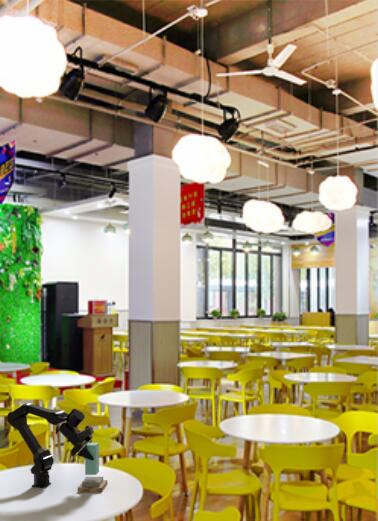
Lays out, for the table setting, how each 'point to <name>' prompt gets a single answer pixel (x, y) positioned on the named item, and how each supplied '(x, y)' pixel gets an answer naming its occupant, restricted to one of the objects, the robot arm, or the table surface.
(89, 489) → the walnut slab
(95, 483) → the charcoal tile
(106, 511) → the table surface
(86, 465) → the teal pillar
